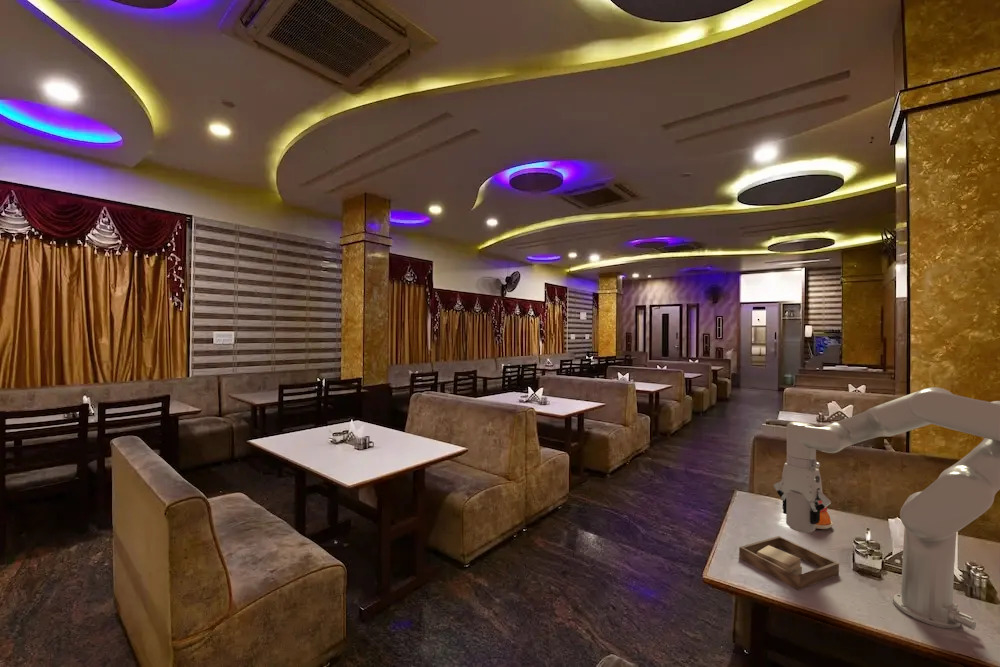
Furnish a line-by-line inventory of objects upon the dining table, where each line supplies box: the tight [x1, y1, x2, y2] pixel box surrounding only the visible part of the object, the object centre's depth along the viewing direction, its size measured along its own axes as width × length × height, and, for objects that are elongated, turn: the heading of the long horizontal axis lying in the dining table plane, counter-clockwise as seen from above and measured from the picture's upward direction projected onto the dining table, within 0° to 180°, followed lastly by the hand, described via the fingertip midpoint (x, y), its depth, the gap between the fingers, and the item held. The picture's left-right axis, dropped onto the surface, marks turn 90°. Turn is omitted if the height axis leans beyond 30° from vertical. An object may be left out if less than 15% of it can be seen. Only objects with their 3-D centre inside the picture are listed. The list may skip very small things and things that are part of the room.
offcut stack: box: [757, 545, 803, 576], centre depth 130 cm, size 10×9×4 cm
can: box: [785, 490, 816, 534], centre depth 133 cm, size 8×8×12 cm
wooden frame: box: [738, 535, 840, 591], centre depth 132 cm, size 18×20×4 cm
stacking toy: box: [815, 500, 834, 530], centre depth 163 cm, size 14×14×20 cm
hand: (800, 517), depth 133 cm, fingers closed on can, 7 cm apart
